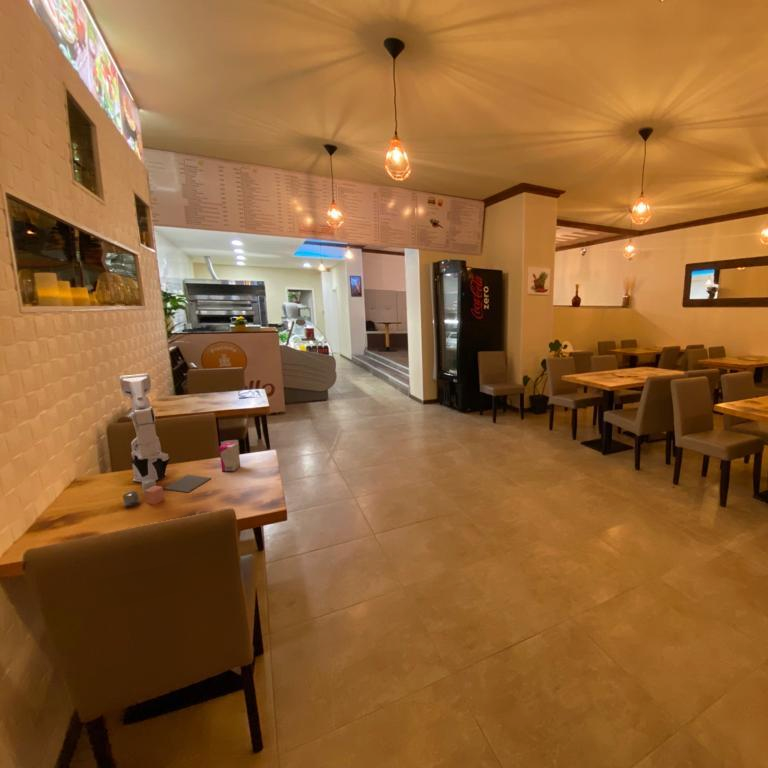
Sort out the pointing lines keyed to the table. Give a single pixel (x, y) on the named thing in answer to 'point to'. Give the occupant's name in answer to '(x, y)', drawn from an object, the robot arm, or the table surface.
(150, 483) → the grey domed cylinder
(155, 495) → the red block
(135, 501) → the metal tin
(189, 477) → the charcoal mat
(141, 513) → the table surface
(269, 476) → the table surface
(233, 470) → the supplement box
